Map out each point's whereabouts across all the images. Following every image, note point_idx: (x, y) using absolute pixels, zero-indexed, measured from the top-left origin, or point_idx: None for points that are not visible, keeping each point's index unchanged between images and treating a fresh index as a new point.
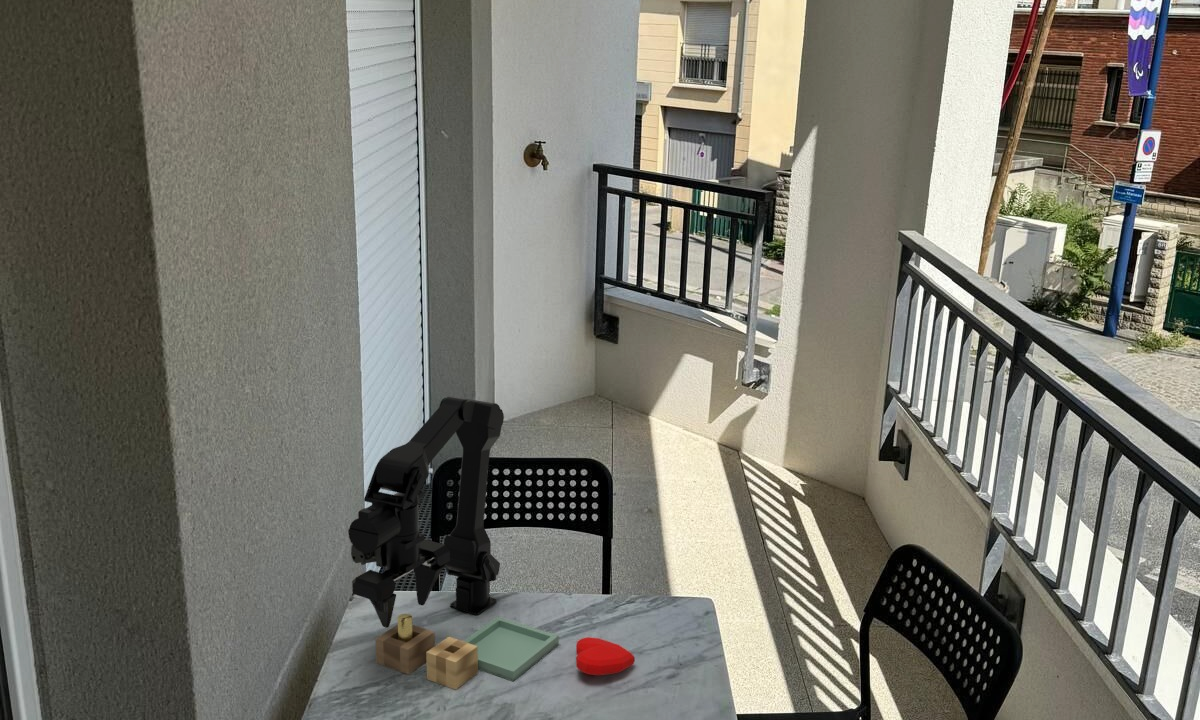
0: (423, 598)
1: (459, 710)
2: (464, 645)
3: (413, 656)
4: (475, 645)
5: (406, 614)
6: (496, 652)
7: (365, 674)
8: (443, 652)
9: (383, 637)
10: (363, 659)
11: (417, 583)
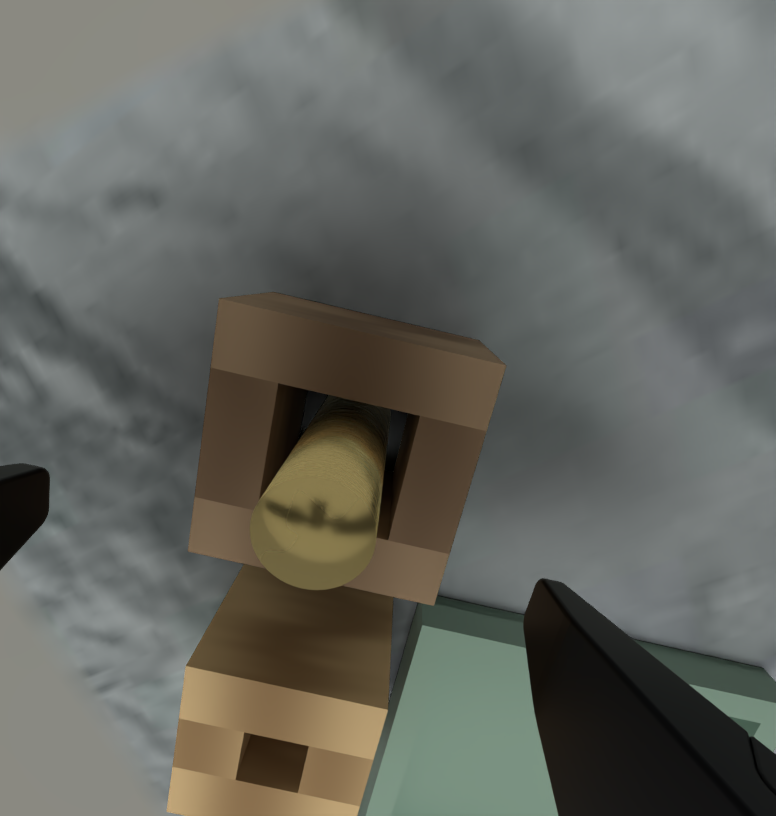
0: (537, 695)
1: (116, 731)
2: (330, 800)
3: None
4: None
5: (357, 531)
6: (513, 742)
7: (161, 292)
8: (222, 739)
9: (253, 345)
10: (278, 205)
11: (673, 782)
